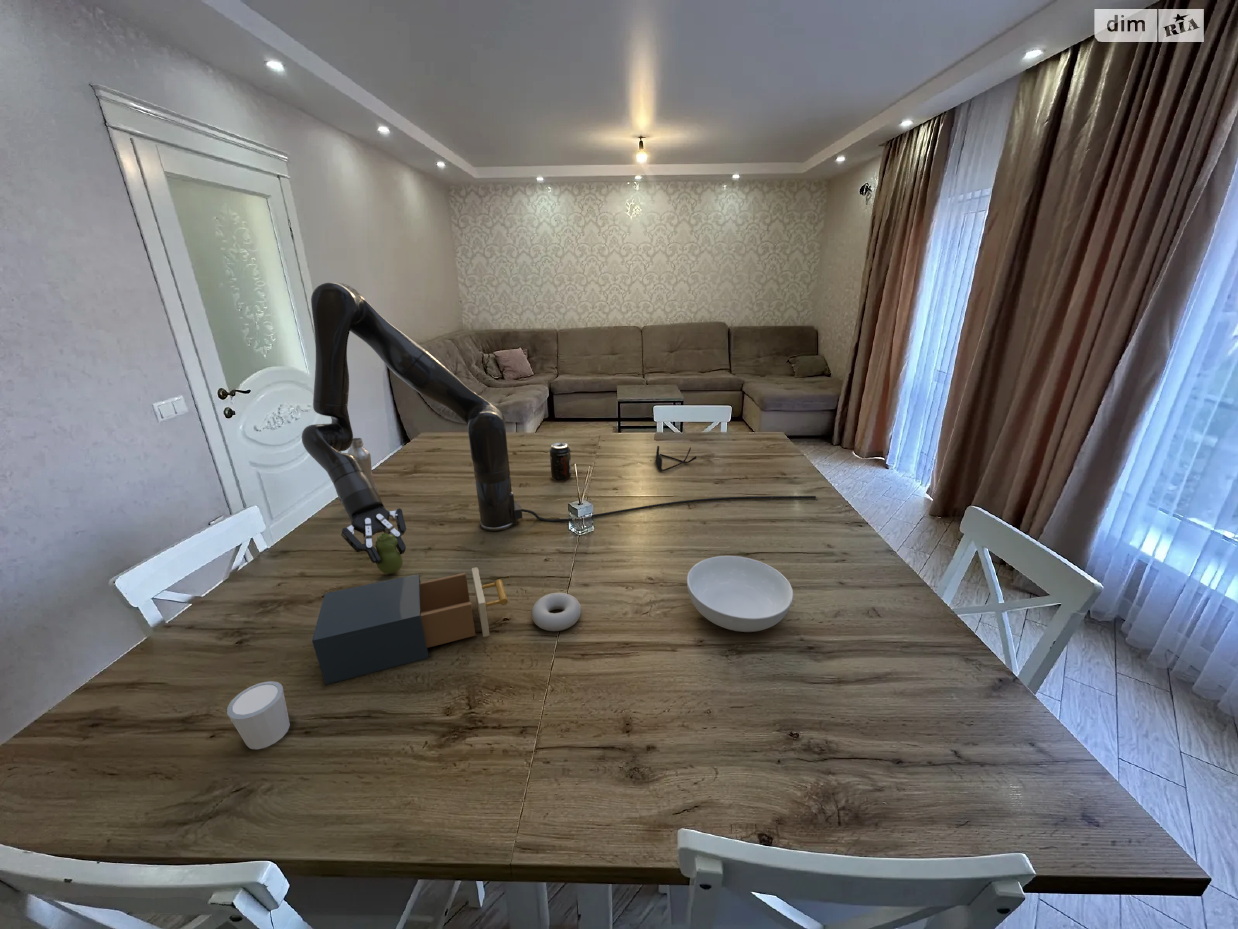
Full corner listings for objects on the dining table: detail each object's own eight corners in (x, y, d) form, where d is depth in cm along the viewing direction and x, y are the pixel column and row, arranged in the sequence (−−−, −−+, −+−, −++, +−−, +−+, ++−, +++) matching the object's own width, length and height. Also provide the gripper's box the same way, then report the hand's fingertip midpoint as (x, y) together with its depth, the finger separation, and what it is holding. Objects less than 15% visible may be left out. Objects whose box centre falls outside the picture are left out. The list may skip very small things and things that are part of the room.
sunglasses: (697, 472, 169) (698, 459, 167) (656, 472, 169) (656, 459, 167) (691, 455, 184) (692, 443, 182) (654, 455, 184) (654, 443, 182)
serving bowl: (729, 662, 87) (732, 631, 84) (666, 597, 104) (667, 570, 102) (812, 625, 96) (817, 596, 93) (741, 571, 113) (744, 546, 110)
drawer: (502, 593, 104) (498, 562, 102) (512, 629, 94) (508, 596, 91) (403, 616, 98) (396, 584, 95) (402, 658, 87) (394, 623, 84)
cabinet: (426, 612, 100) (418, 573, 96) (428, 658, 88) (419, 615, 85) (336, 633, 94) (324, 593, 91) (325, 685, 83) (311, 640, 79)
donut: (569, 640, 92) (589, 607, 101) (568, 626, 91) (588, 594, 100) (523, 629, 96) (546, 598, 104) (521, 615, 94) (545, 584, 103)
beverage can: (575, 477, 166) (574, 444, 161) (563, 484, 160) (561, 450, 156) (560, 473, 169) (558, 440, 165) (547, 479, 164) (545, 446, 159)
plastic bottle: (371, 506, 146) (357, 444, 138) (351, 504, 147) (337, 442, 140) (385, 497, 152) (372, 437, 144) (366, 495, 153) (352, 435, 146)
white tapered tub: (258, 715, 77) (245, 682, 74) (303, 712, 78) (292, 679, 75) (230, 755, 71) (214, 720, 68) (279, 751, 71) (266, 716, 69)
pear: (373, 575, 112) (365, 537, 108) (391, 563, 117) (383, 526, 113) (392, 580, 110) (383, 542, 106) (409, 567, 115) (402, 531, 111)
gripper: (326, 498, 106) (361, 566, 103) (391, 478, 116) (424, 539, 113) (323, 513, 111) (356, 577, 108) (385, 492, 121) (417, 550, 118)
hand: (391, 557), depth 110 cm, fingers closed on pear, 5 cm apart
